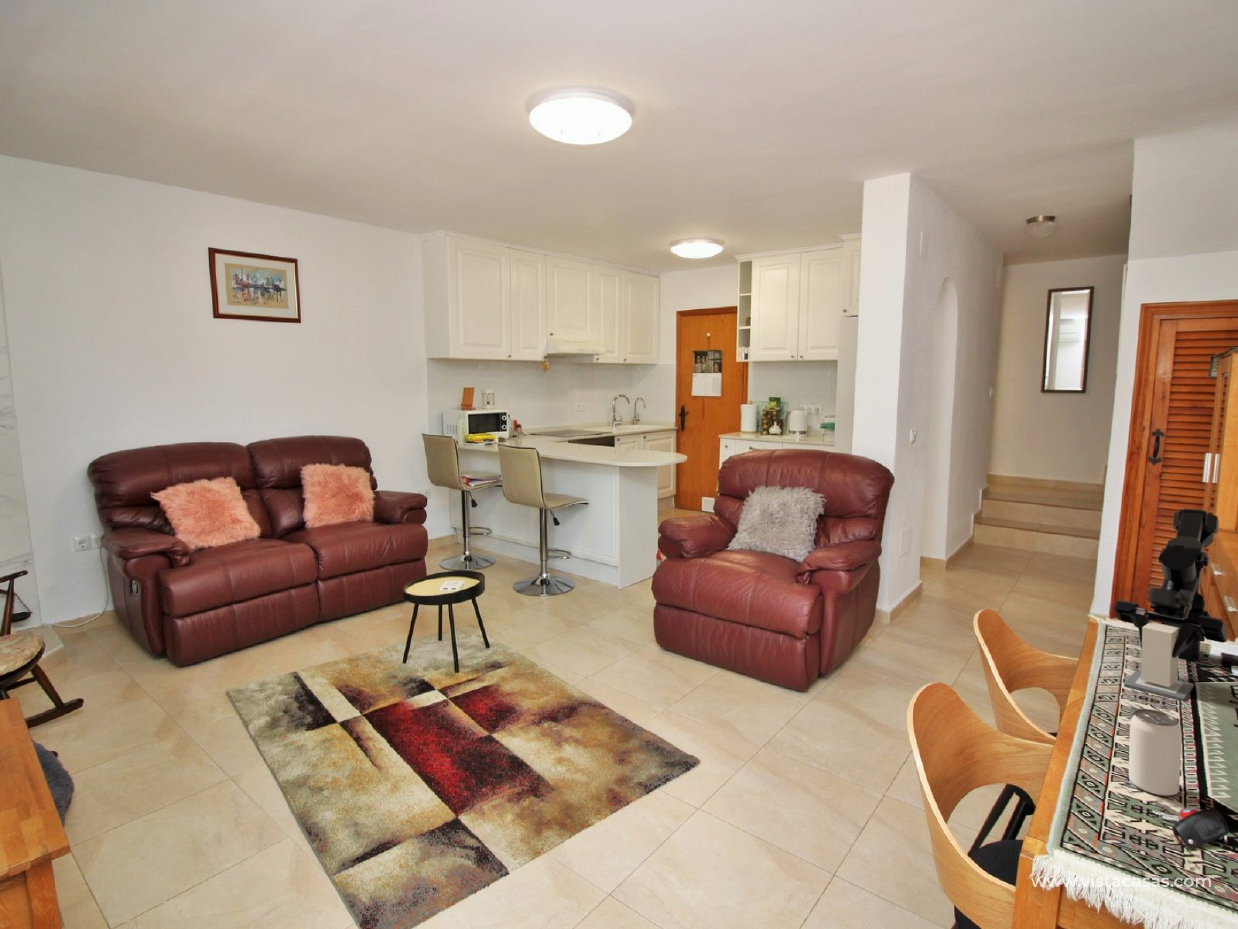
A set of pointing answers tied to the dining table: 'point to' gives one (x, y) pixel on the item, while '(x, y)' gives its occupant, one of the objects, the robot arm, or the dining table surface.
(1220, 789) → the dining table surface
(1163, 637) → the cream block
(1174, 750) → the can
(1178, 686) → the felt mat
